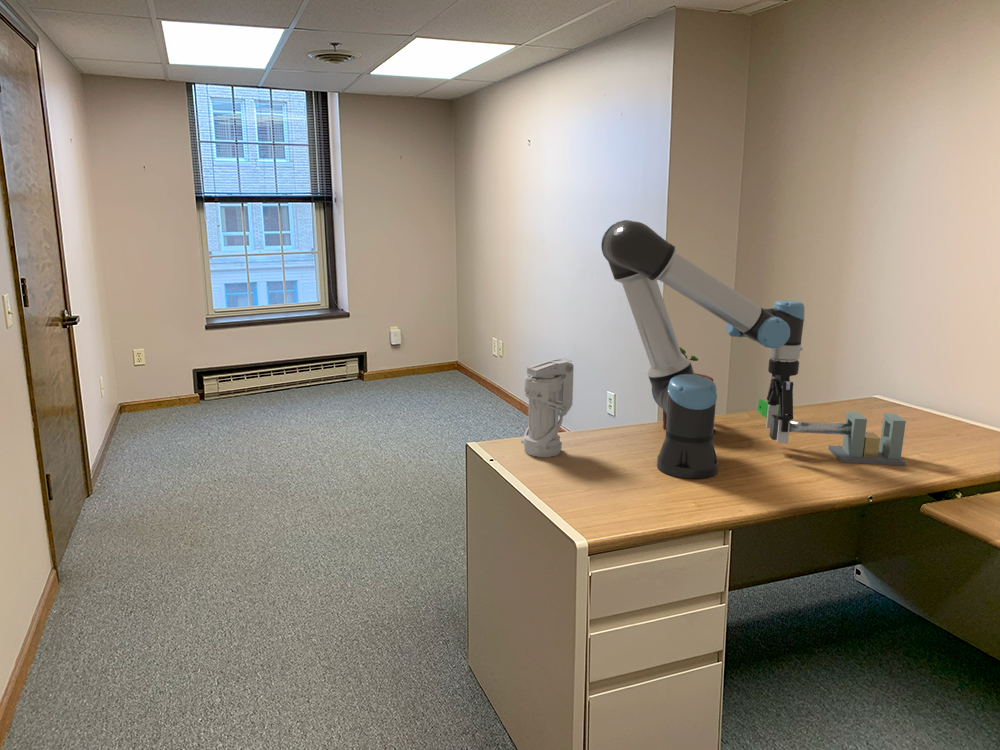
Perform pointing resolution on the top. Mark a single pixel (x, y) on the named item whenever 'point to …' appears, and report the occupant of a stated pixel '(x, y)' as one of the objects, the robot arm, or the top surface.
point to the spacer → (871, 445)
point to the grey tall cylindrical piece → (547, 405)
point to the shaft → (810, 427)
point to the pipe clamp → (764, 407)
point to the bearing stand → (855, 442)
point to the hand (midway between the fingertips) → (776, 435)
